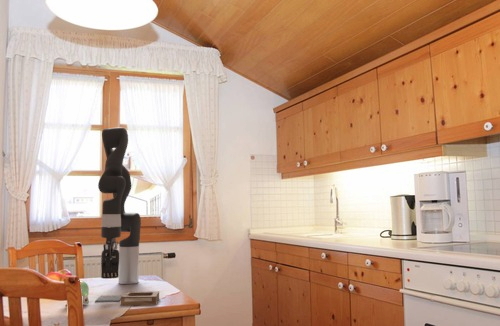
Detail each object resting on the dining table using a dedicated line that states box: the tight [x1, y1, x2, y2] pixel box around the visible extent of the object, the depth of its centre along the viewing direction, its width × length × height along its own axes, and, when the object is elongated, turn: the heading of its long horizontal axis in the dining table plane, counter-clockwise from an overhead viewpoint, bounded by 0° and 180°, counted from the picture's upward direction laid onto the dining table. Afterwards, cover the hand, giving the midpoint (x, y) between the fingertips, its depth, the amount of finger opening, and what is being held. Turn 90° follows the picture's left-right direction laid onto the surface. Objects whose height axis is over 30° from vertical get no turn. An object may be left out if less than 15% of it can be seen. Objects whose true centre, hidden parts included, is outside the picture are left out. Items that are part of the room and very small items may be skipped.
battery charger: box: [100, 248, 119, 279], centre depth 182 cm, size 7×4×11 cm, turn 110°
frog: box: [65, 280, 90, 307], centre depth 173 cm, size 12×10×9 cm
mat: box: [94, 294, 123, 303], centre depth 181 cm, size 9×9×1 cm
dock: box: [120, 290, 160, 306], centre depth 176 cm, size 10×13×3 cm
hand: (110, 268), depth 182 cm, fingers closed on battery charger, 4 cm apart
